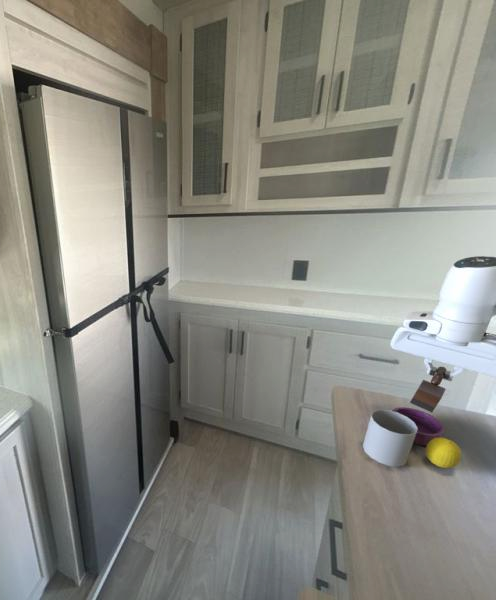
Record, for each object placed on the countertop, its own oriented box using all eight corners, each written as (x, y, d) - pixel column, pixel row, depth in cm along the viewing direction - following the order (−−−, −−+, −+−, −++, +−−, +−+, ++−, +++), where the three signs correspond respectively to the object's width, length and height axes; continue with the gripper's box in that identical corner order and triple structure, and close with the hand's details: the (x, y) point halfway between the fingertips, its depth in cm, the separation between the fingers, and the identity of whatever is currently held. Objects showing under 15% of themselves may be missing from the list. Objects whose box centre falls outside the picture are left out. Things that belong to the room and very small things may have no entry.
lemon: (450, 461, 78) (461, 435, 75) (457, 479, 74) (469, 453, 71) (419, 452, 81) (428, 427, 78) (424, 469, 77) (434, 444, 74)
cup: (388, 471, 78) (399, 438, 74) (354, 445, 85) (362, 414, 81) (415, 460, 79) (427, 428, 76) (380, 436, 87) (388, 406, 83)
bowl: (444, 432, 86) (448, 420, 85) (435, 454, 80) (440, 442, 79) (393, 412, 94) (396, 402, 92) (382, 431, 88) (386, 420, 87)
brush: (423, 379, 86) (433, 362, 83) (443, 387, 83) (455, 370, 80) (409, 402, 78) (420, 384, 76) (431, 412, 75) (443, 394, 73)
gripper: (530, 336, 69) (505, 389, 75) (402, 310, 85) (390, 356, 90) (528, 347, 66) (502, 402, 71) (395, 318, 81) (382, 365, 87)
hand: (438, 376), depth 81 cm, fingers closed on brush
